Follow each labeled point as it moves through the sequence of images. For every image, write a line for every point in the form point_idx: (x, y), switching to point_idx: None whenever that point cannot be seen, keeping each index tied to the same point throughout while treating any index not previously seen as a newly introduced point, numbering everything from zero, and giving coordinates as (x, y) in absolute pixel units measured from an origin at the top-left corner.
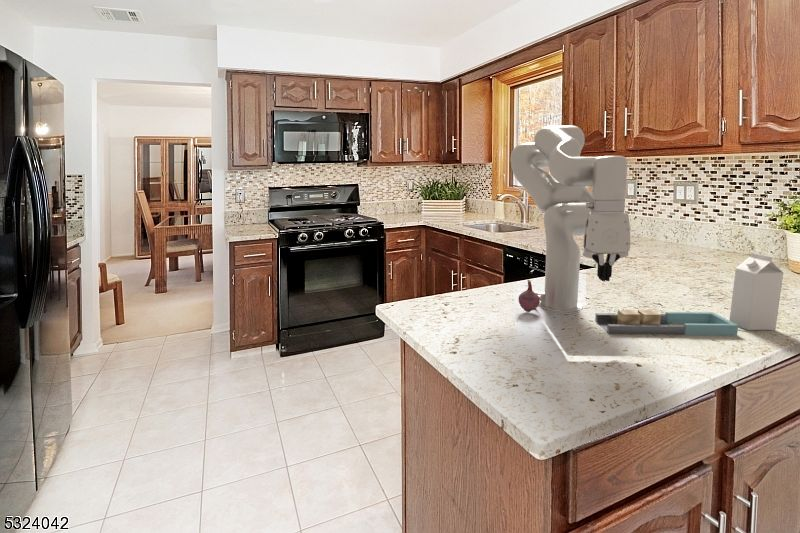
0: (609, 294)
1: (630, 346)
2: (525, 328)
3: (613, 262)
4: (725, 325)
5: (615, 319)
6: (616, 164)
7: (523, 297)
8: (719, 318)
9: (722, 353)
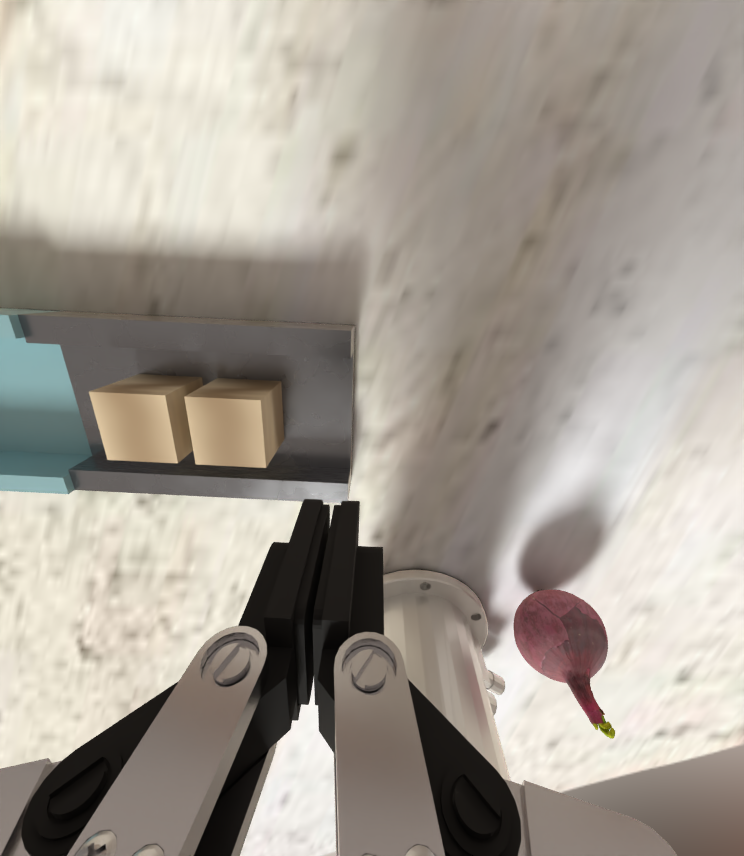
0: None
1: (303, 211)
2: (630, 438)
3: (201, 670)
4: None
5: (279, 470)
6: None
7: (602, 634)
8: None
9: None
